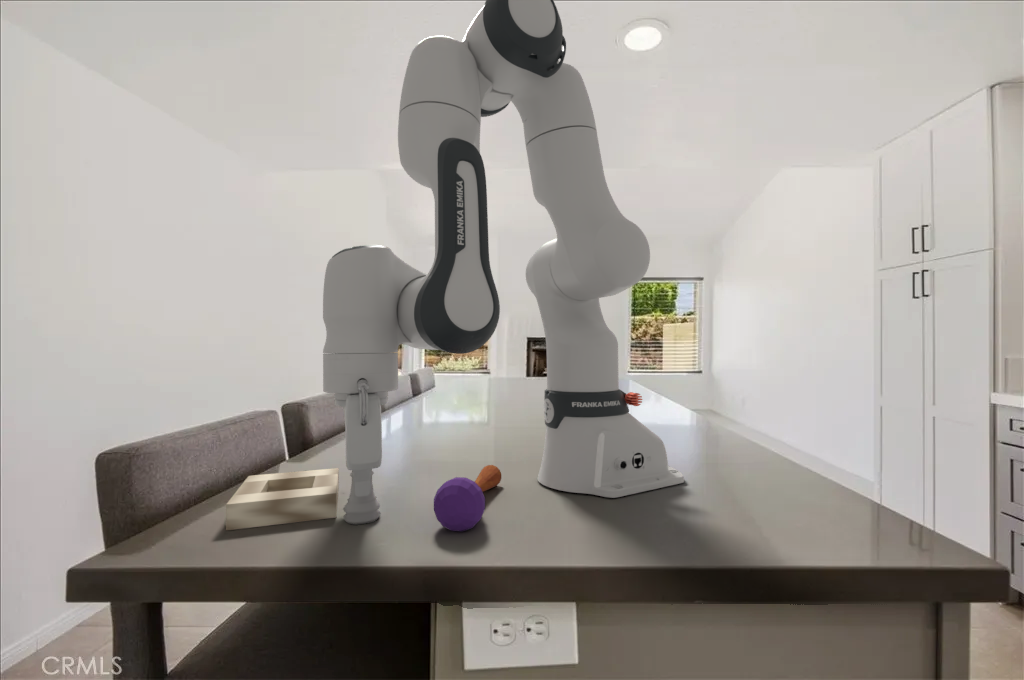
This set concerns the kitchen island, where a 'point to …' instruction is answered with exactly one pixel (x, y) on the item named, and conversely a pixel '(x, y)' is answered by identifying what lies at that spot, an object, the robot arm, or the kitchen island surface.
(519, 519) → the kitchen island surface
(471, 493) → the purple maraca
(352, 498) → the rook chess piece
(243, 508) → the square wooden frame
